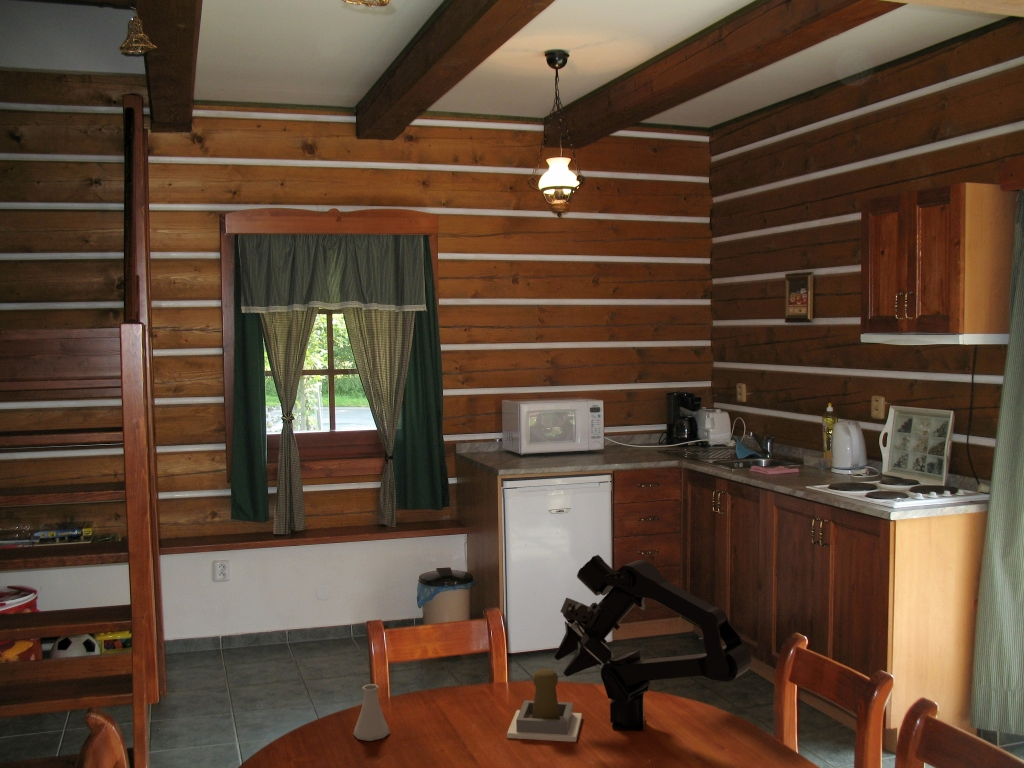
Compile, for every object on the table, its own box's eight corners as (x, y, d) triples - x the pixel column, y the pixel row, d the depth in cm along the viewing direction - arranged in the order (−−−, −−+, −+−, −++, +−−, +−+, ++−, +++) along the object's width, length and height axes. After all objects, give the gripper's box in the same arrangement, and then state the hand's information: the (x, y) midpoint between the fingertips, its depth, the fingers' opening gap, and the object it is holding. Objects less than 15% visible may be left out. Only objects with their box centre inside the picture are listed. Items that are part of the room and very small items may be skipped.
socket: (581, 717, 197) (581, 701, 196) (575, 741, 185) (575, 724, 185) (517, 714, 199) (516, 698, 199) (507, 737, 187) (506, 720, 187)
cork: (561, 728, 189) (560, 675, 188) (531, 729, 189) (530, 676, 189) (560, 716, 195) (559, 665, 194) (531, 717, 195) (530, 665, 195)
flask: (346, 735, 190) (345, 687, 190) (374, 724, 195) (373, 677, 195) (368, 745, 185) (367, 696, 185) (396, 733, 190) (395, 686, 190)
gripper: (573, 573, 201) (525, 627, 200) (594, 598, 182) (541, 657, 181) (609, 606, 202) (561, 660, 201) (633, 634, 184) (580, 693, 183)
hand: (560, 666), depth 192 cm, fingers open, 9 cm apart
